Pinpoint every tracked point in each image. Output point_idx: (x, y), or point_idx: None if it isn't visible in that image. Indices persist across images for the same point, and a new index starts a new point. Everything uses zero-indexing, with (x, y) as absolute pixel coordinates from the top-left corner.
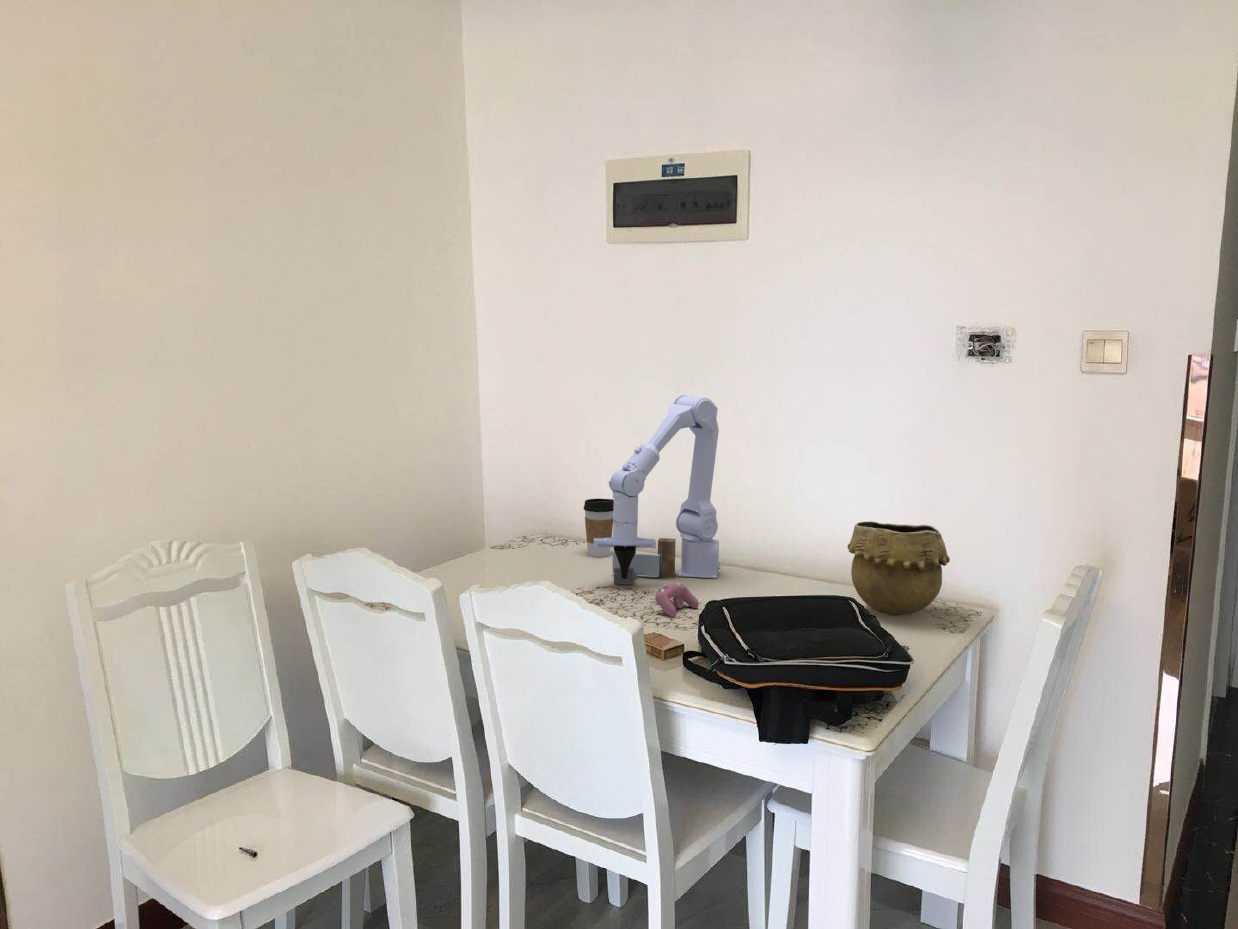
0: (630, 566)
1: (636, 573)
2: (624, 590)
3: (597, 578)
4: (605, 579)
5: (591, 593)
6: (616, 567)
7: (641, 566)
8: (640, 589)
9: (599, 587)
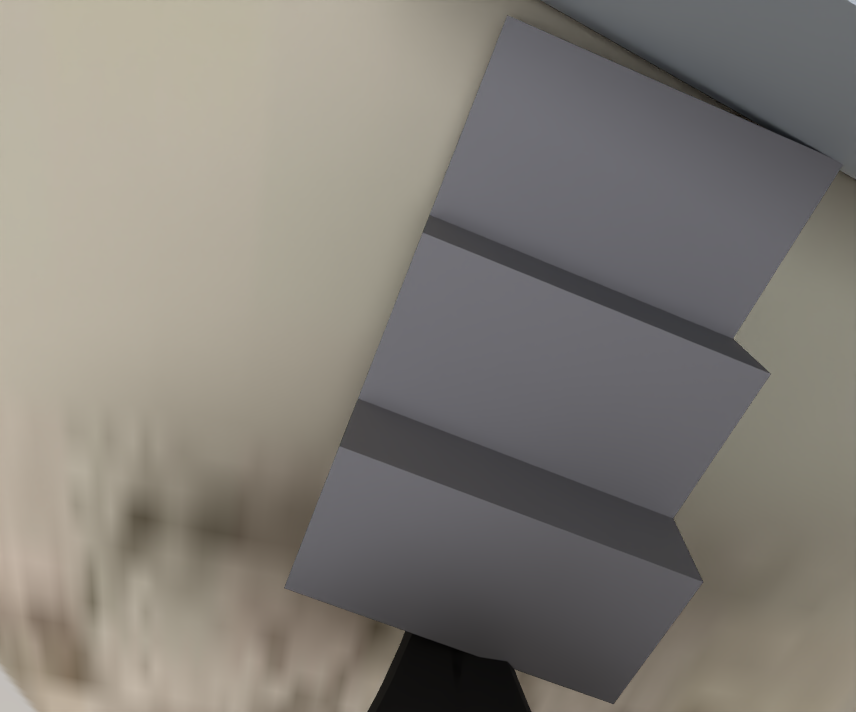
0: (786, 99)
1: (809, 215)
2: None
3: (129, 91)
4: (254, 178)
5: (77, 681)
6: (344, 524)
7: None
8: None
9: (157, 525)
